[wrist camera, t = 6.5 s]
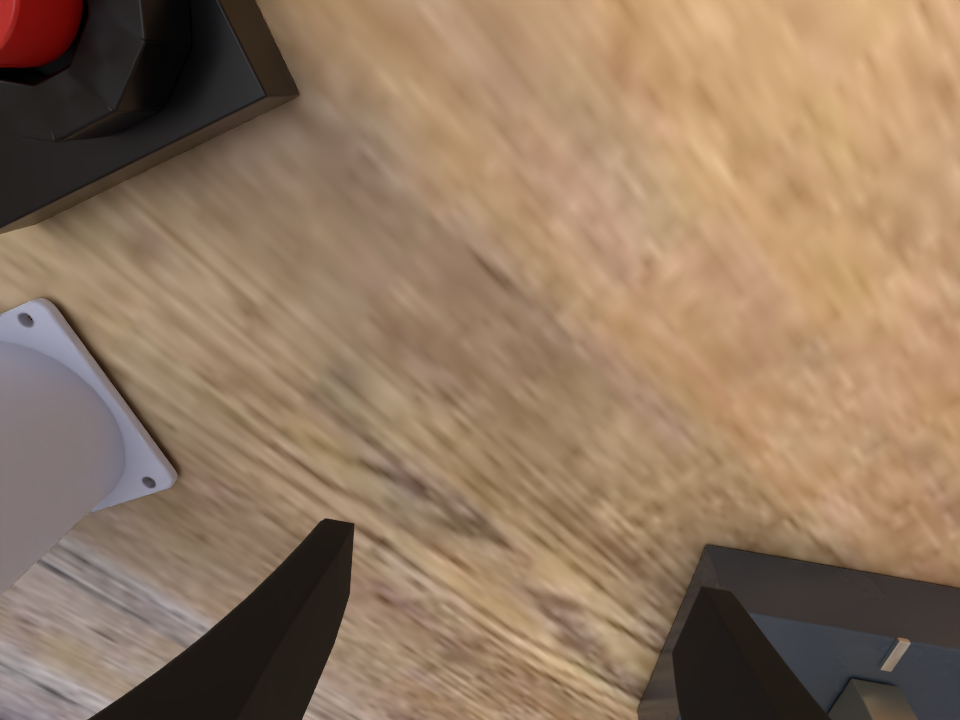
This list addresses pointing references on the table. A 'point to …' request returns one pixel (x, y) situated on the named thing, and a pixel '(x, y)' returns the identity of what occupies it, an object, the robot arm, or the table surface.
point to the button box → (131, 98)
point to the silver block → (871, 703)
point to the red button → (37, 31)
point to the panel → (832, 630)
